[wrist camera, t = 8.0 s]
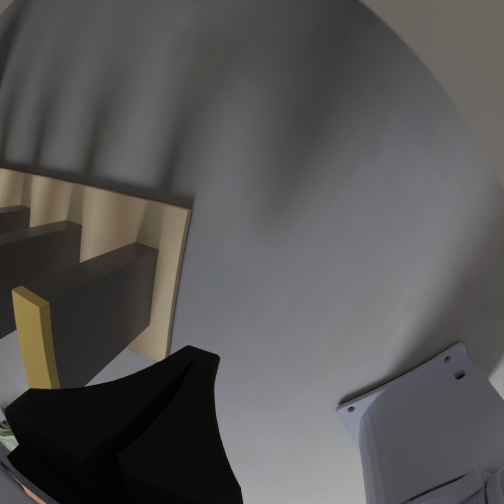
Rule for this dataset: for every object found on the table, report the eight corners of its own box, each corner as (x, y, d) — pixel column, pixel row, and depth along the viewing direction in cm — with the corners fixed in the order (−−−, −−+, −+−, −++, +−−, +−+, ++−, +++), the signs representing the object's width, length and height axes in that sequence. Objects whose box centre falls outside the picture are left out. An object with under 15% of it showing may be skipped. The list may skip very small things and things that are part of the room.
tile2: (82, 225, 16) (-34, 255, 8) (78, 295, 18) (-18, 349, 9) (66, 220, 17) (-45, 246, 8) (63, 287, 18) (-31, 335, 9)
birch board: (191, 209, 16) (187, 210, 15) (168, 359, 18) (164, 363, 18) (-44, 159, 19) (-47, 159, 19) (-47, 237, 22) (-50, 238, 21)
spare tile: (159, 249, 16) (39, 307, 7) (149, 326, 17) (57, 412, 8) (135, 241, 16) (11, 289, 7) (127, 317, 17) (31, 393, 9)
